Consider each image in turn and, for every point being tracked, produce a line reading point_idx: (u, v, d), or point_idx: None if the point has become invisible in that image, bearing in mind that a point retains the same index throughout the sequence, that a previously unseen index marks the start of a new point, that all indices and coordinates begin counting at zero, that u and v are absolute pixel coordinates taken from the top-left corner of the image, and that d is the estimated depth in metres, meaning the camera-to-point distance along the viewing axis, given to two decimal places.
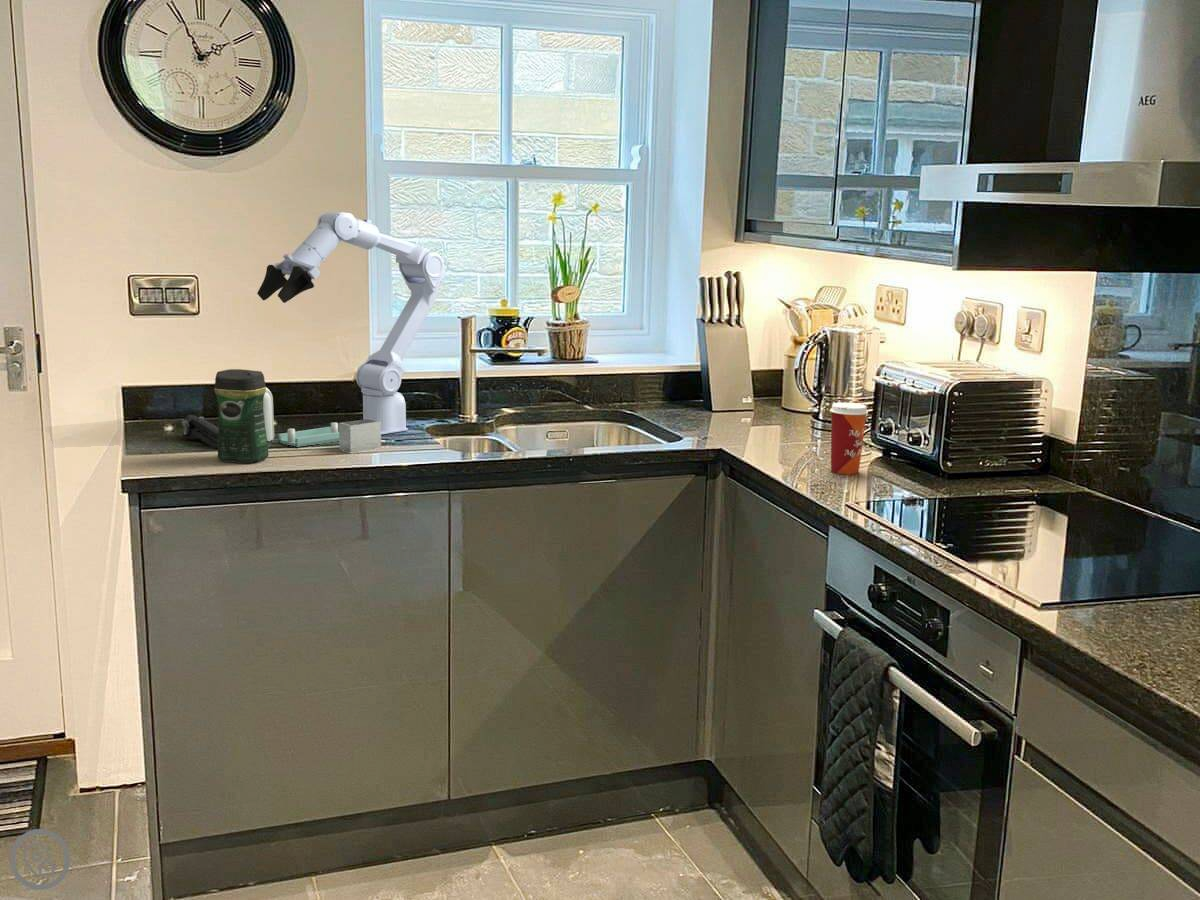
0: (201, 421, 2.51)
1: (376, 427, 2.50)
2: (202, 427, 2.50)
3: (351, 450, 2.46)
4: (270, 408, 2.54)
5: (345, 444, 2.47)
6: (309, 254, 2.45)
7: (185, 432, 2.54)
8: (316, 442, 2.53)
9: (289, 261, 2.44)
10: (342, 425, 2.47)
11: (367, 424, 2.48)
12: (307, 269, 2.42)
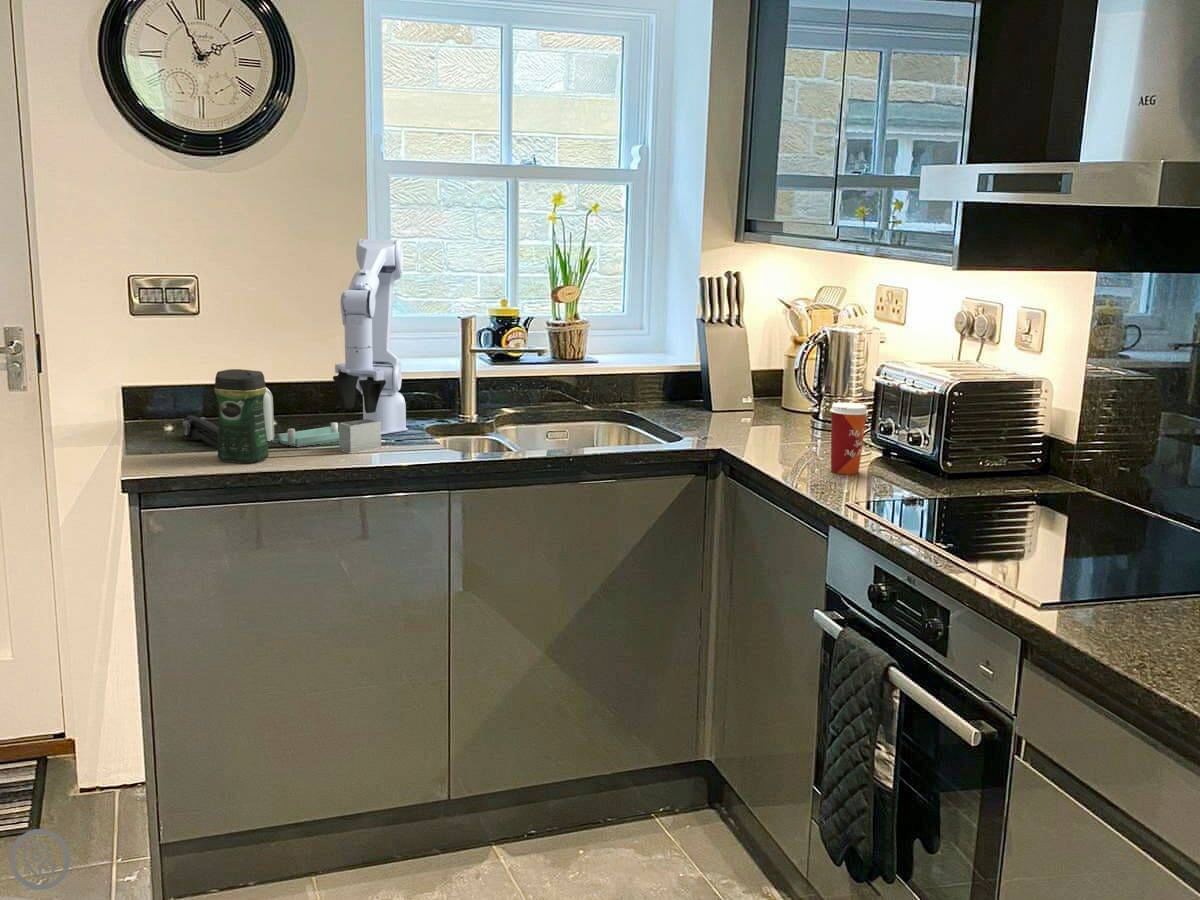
0: (203, 422, 2.51)
1: (376, 427, 2.50)
2: (204, 428, 2.50)
3: (351, 450, 2.46)
4: (270, 408, 2.54)
5: (345, 444, 2.47)
6: (360, 356, 2.43)
7: (186, 433, 2.54)
8: (316, 442, 2.53)
9: None
10: (342, 425, 2.47)
11: (367, 424, 2.48)
12: None
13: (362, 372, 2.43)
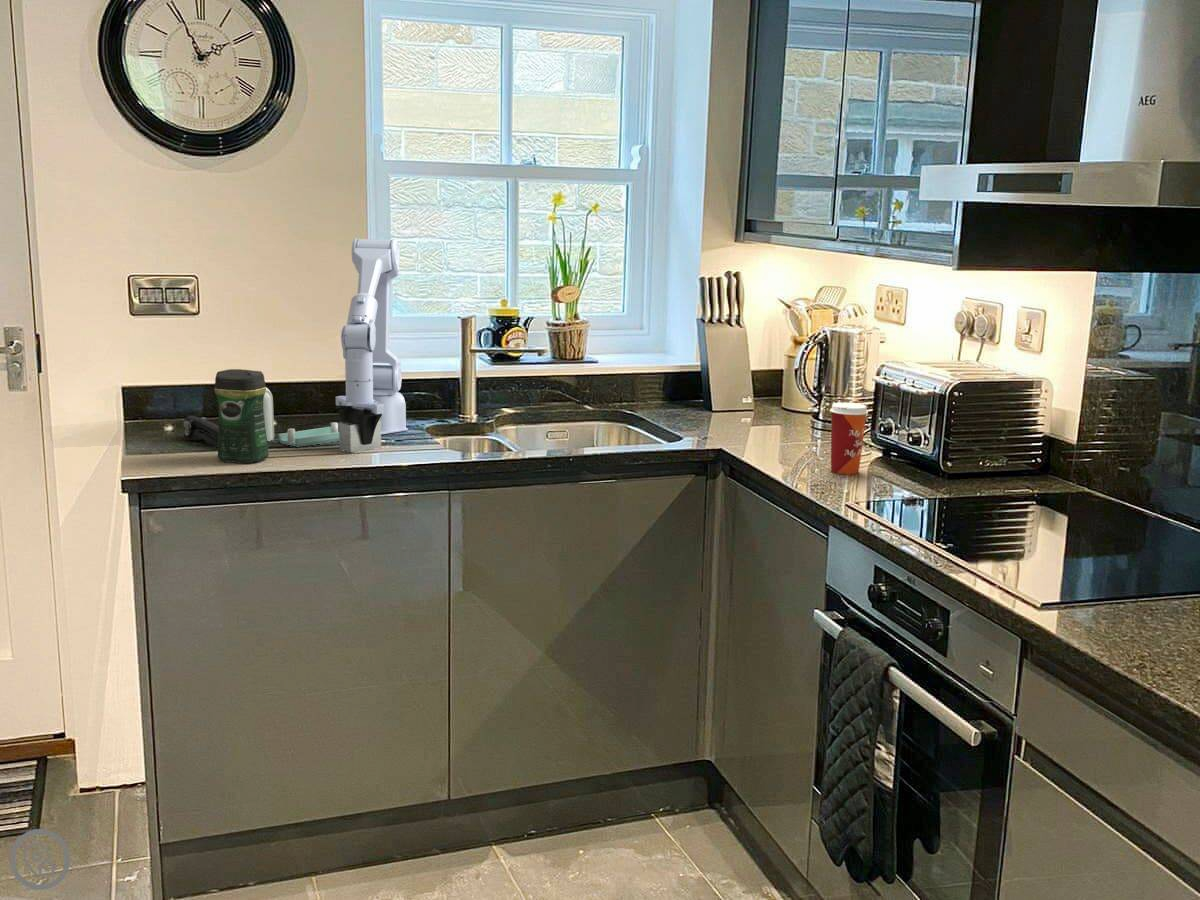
0: (204, 422, 2.51)
1: (376, 426, 2.50)
2: (206, 428, 2.50)
3: (351, 450, 2.46)
4: (270, 408, 2.54)
5: (345, 444, 2.47)
6: (361, 389, 2.45)
7: (187, 433, 2.53)
8: (316, 442, 2.53)
9: (350, 405, 2.46)
10: (342, 425, 2.46)
11: None
12: (371, 407, 2.44)
13: (363, 405, 2.44)
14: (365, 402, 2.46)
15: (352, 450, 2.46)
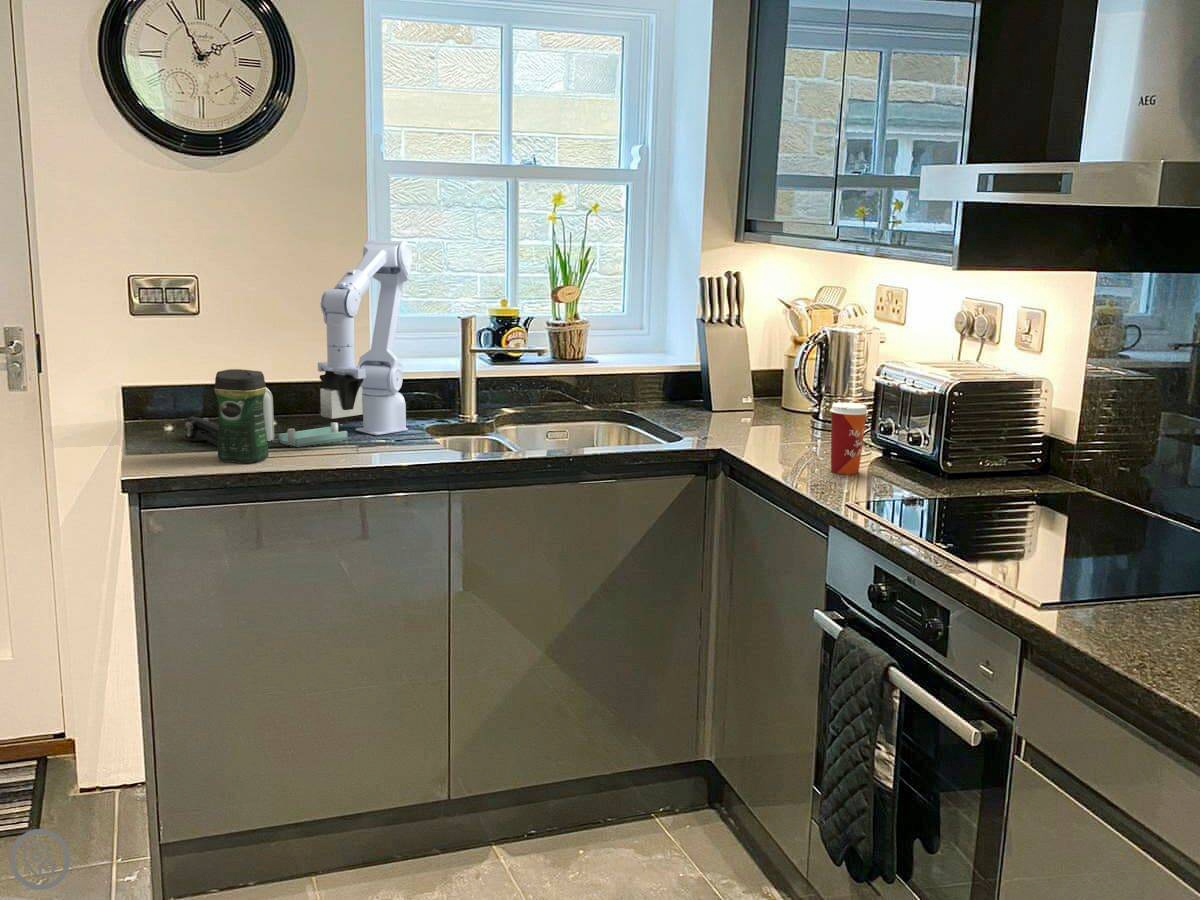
0: (207, 422, 2.50)
1: (357, 393, 2.51)
2: (209, 428, 2.49)
3: (332, 415, 2.47)
4: (270, 408, 2.54)
5: (326, 410, 2.48)
6: (342, 354, 2.46)
7: (189, 434, 2.53)
8: (316, 442, 2.53)
9: (332, 370, 2.47)
10: (323, 390, 2.48)
11: None
12: None
13: (344, 370, 2.45)
14: (346, 367, 2.47)
15: (333, 416, 2.47)
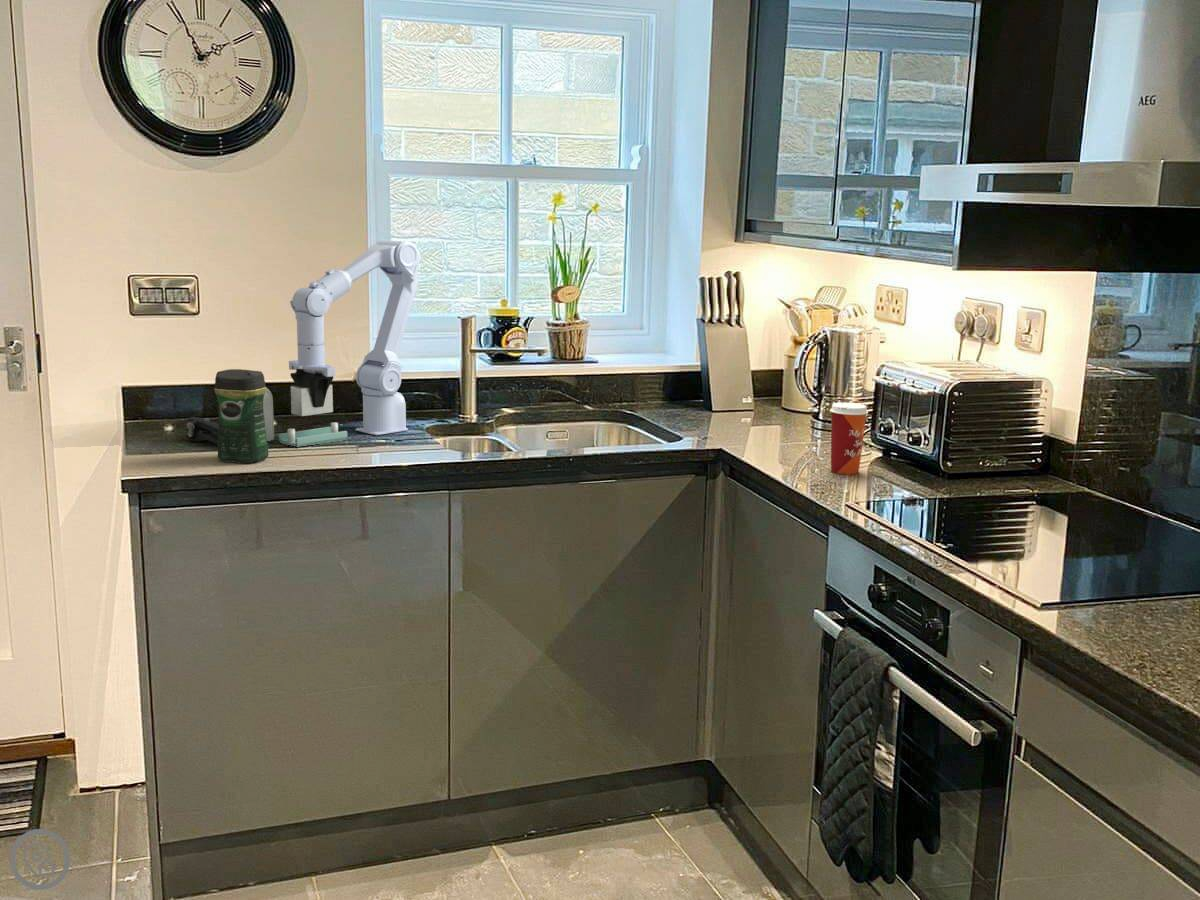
0: (209, 423, 2.50)
1: (328, 391, 2.55)
2: (211, 429, 2.49)
3: (302, 413, 2.51)
4: (270, 408, 2.54)
5: (296, 407, 2.52)
6: (312, 352, 2.50)
7: (190, 434, 2.52)
8: (316, 442, 2.53)
9: (302, 368, 2.51)
10: (294, 388, 2.51)
11: None
12: None
13: (314, 368, 2.49)
14: (316, 365, 2.51)
15: (303, 413, 2.51)
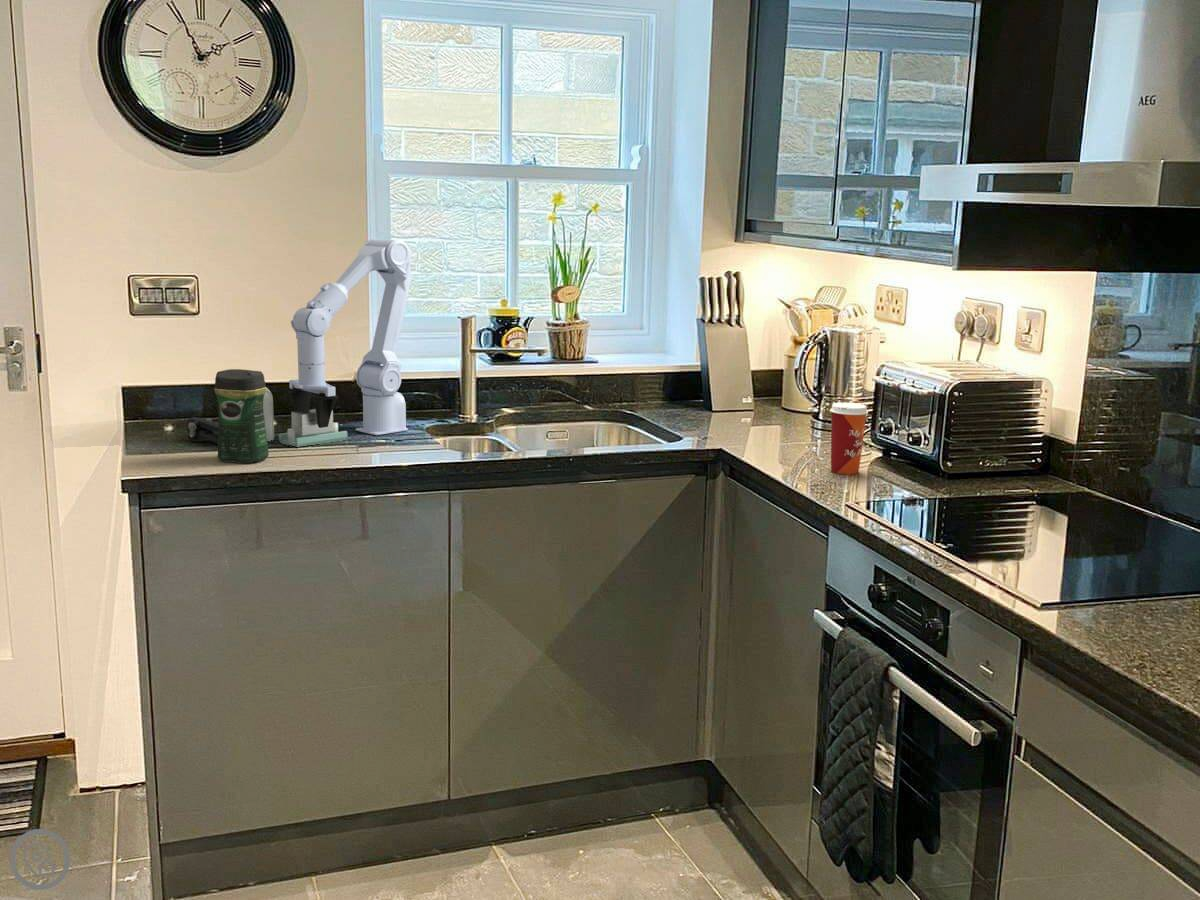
0: (211, 423, 2.50)
1: None
2: (214, 429, 2.49)
3: None
4: (270, 408, 2.54)
5: (297, 433, 2.53)
6: (313, 372, 2.51)
7: (192, 435, 2.52)
8: (316, 442, 2.53)
9: None
10: (294, 414, 2.53)
11: None
12: None
13: (314, 388, 2.50)
14: (317, 385, 2.51)
15: None
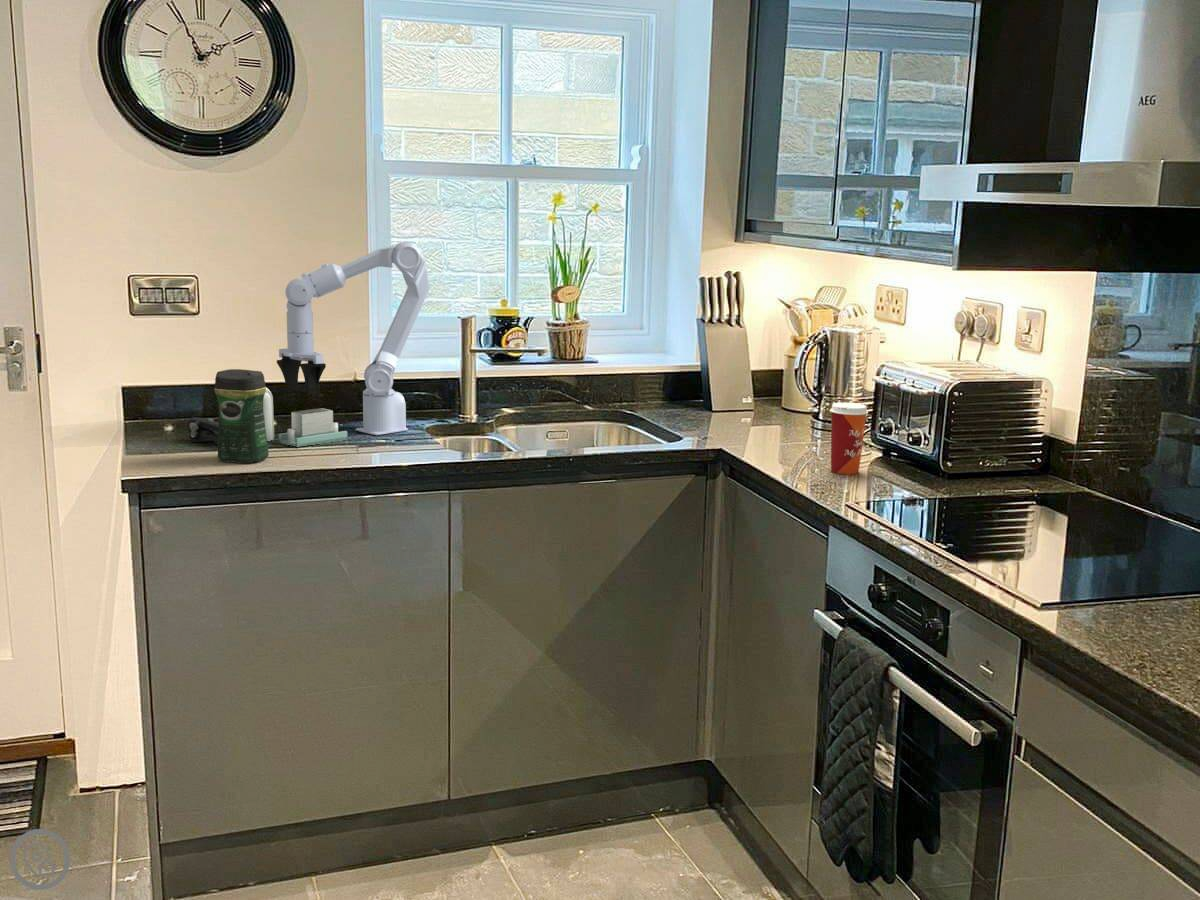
0: (213, 423, 2.50)
1: (328, 416, 2.56)
2: (216, 429, 2.49)
3: None
4: (270, 408, 2.54)
5: (297, 433, 2.53)
6: (301, 341, 2.59)
7: (193, 435, 2.51)
8: (316, 442, 2.53)
9: None
10: (294, 414, 2.53)
11: (319, 413, 2.54)
12: (311, 357, 2.58)
13: (303, 356, 2.58)
14: (305, 353, 2.60)
15: None
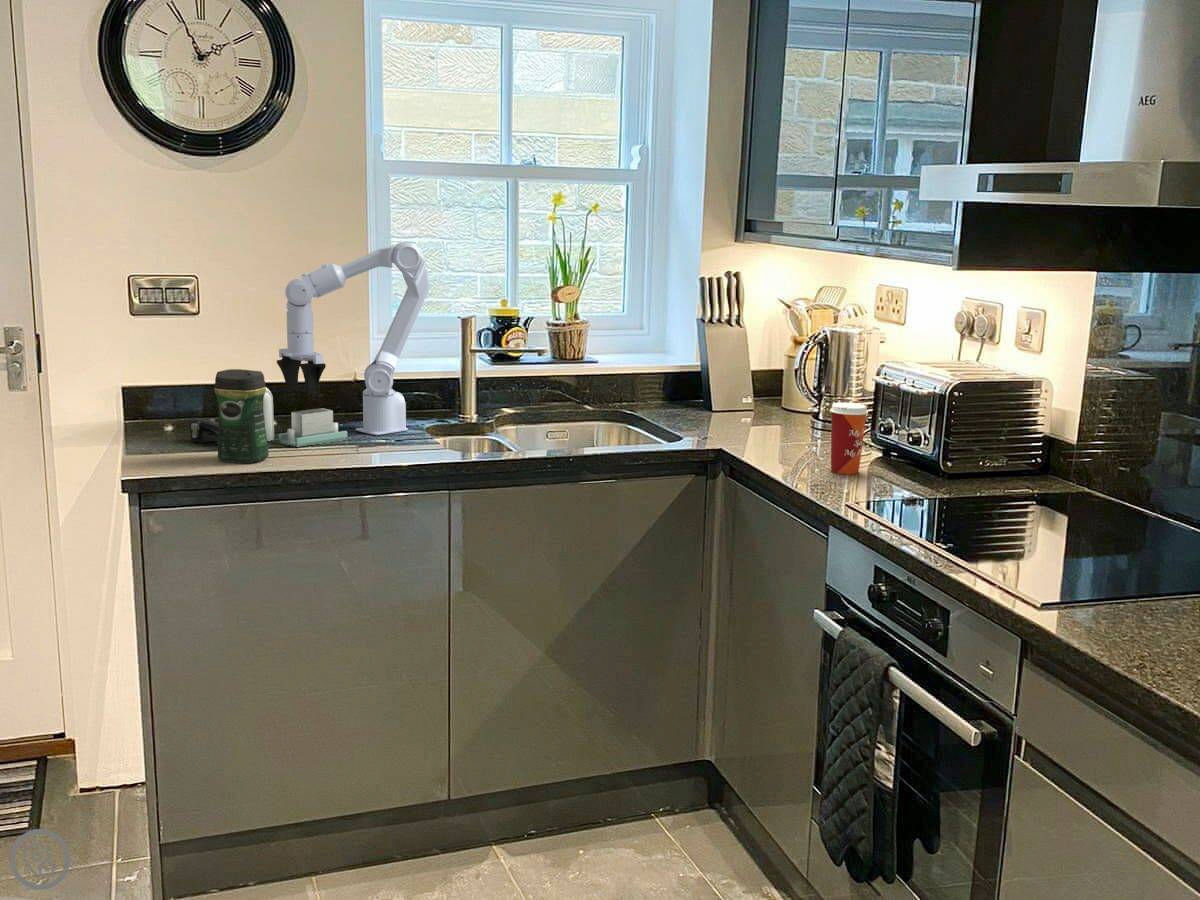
0: (215, 423, 2.50)
1: (328, 416, 2.56)
2: (218, 429, 2.49)
3: None
4: (270, 408, 2.54)
5: (297, 433, 2.53)
6: (301, 340, 2.59)
7: (195, 435, 2.51)
8: (316, 442, 2.53)
9: None
10: (294, 414, 2.53)
11: (319, 413, 2.54)
12: (311, 357, 2.58)
13: (303, 356, 2.58)
14: (305, 353, 2.60)
15: None
